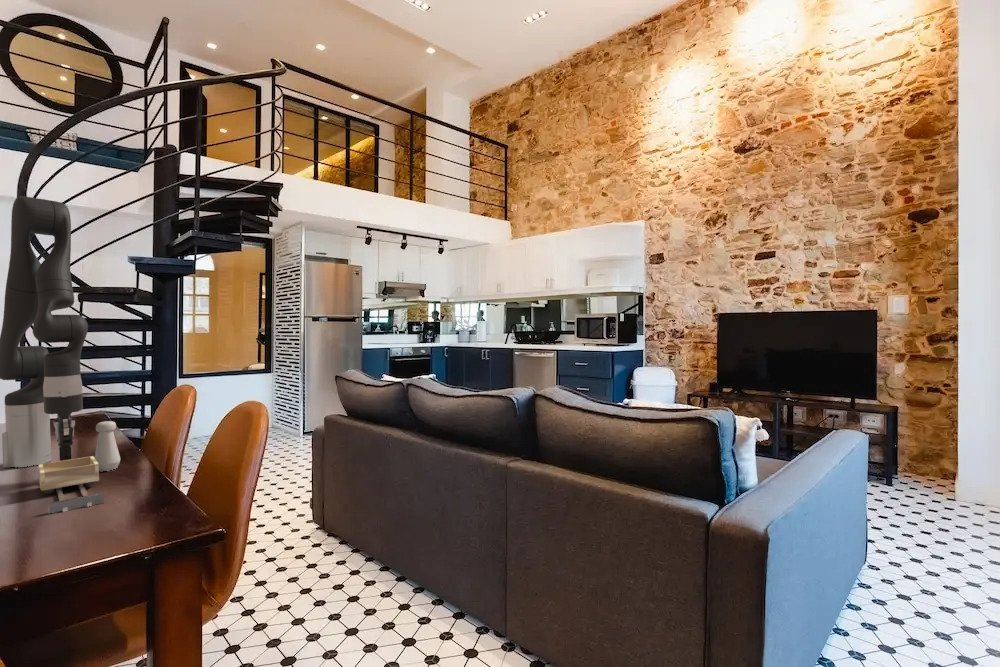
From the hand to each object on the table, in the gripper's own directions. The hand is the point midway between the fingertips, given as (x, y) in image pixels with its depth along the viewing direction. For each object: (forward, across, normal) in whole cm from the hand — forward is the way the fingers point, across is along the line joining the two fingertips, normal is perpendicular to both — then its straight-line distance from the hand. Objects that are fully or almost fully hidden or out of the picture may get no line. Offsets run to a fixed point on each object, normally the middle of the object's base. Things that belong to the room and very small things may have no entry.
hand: (65, 461), depth 130 cm
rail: (+5, +16, 0) cm, 16 cm away
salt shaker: (+5, -2, +9) cm, 10 cm away
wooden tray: (+5, +10, 0) cm, 11 cm away
